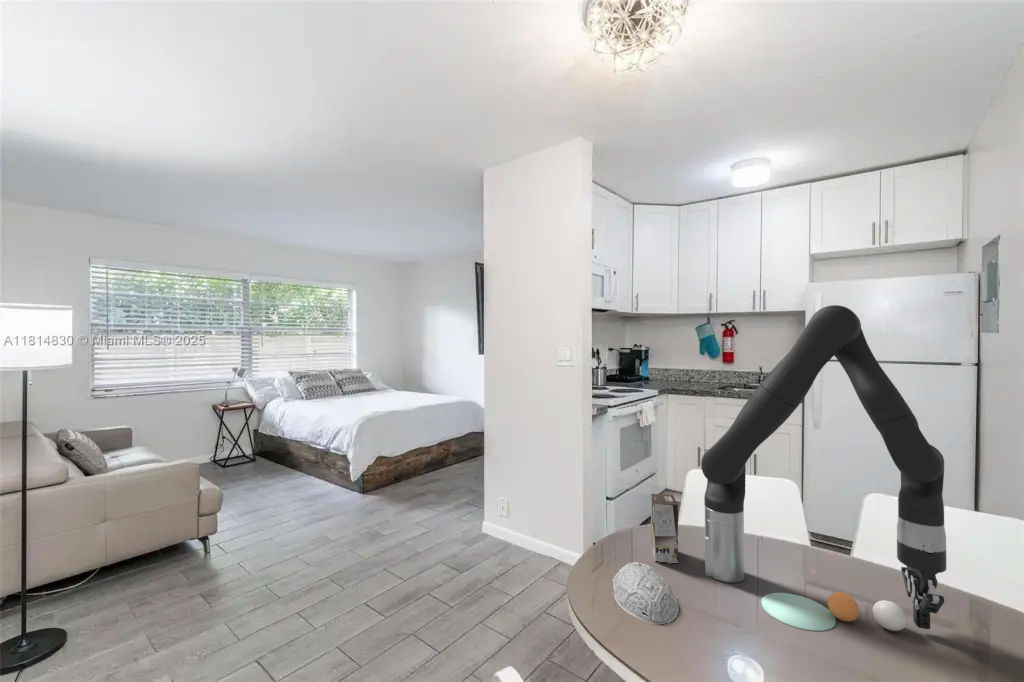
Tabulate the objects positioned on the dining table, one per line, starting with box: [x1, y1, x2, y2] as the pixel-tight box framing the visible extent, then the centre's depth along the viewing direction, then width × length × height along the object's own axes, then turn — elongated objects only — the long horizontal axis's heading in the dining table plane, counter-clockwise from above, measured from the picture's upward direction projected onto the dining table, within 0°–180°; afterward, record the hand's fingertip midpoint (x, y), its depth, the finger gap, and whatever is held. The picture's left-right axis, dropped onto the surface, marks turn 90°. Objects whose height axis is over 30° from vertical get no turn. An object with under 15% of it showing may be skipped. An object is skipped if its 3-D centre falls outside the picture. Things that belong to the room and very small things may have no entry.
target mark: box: [760, 592, 837, 632], centre depth 101 cm, size 14×14×1 cm
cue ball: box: [872, 600, 908, 632], centre depth 95 cm, size 6×6×6 cm
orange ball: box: [827, 591, 860, 622], centre depth 98 cm, size 6×6×6 cm
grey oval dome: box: [612, 561, 680, 625], centre depth 108 cm, size 16×25×7 cm, turn 176°
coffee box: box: [650, 493, 679, 564], centre depth 128 cm, size 9×6×16 cm
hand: (921, 626), depth 93 cm, fingers closed
